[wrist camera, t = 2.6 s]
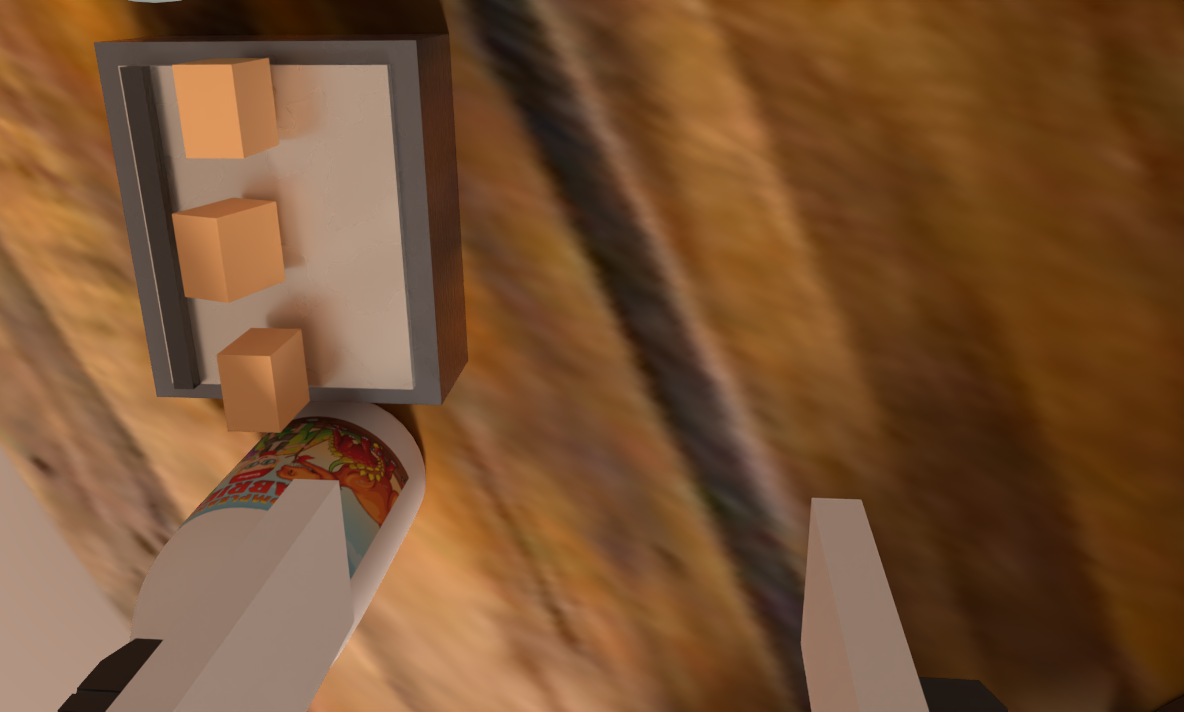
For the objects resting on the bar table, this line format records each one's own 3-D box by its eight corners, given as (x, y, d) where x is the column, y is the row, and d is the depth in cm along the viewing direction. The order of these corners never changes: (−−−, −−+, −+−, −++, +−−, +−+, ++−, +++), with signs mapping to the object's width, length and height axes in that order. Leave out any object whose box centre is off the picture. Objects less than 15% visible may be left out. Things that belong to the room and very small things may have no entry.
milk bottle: (460, 498, 47) (306, 835, 29) (329, 559, 49) (106, 912, 31) (372, 363, 45) (144, 630, 27) (239, 432, 47) (-59, 726, 28)
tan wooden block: (301, 328, 38) (270, 356, 35) (310, 400, 39) (280, 432, 36) (251, 327, 38) (216, 354, 36) (261, 399, 39) (227, 430, 37)
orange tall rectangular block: (268, 58, 35) (231, 64, 32) (279, 144, 36) (243, 158, 33) (213, 58, 35) (171, 64, 32) (225, 144, 36) (186, 158, 33)
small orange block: (276, 201, 36) (216, 218, 34) (285, 280, 37) (228, 302, 35) (233, 197, 37) (171, 213, 34) (243, 275, 38) (185, 296, 35)
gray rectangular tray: (448, 33, 40) (408, 42, 34) (467, 360, 45) (435, 415, 39) (162, 35, 41) (78, 43, 35) (211, 354, 46) (144, 406, 40)
